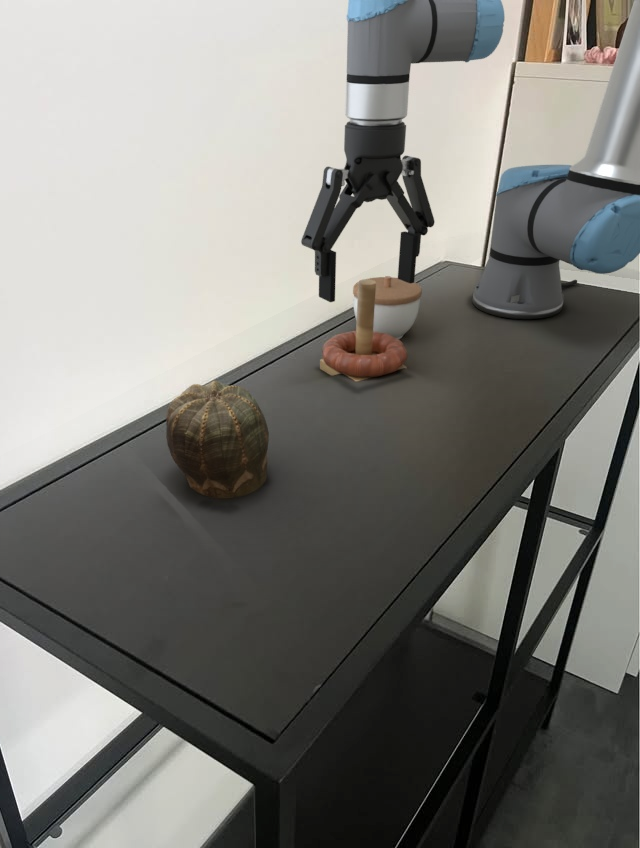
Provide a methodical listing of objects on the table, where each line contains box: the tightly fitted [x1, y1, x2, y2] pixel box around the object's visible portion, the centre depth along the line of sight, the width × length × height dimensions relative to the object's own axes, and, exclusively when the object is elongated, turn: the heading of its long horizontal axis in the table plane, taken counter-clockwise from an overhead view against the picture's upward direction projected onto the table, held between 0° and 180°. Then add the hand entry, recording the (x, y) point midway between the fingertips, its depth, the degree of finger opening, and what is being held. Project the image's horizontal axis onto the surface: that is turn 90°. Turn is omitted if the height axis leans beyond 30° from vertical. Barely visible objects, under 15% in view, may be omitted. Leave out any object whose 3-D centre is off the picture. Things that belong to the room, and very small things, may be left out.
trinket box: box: [352, 275, 423, 340], centre depth 122 cm, size 11×11×9 cm
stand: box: [319, 278, 408, 382], centre depth 108 cm, size 9×9×14 cm
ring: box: [321, 330, 408, 378], centre depth 110 cm, size 12×12×3 cm
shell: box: [165, 380, 270, 499], centre depth 83 cm, size 11×11×12 cm
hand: (367, 289), depth 105 cm, fingers open, 13 cm apart
